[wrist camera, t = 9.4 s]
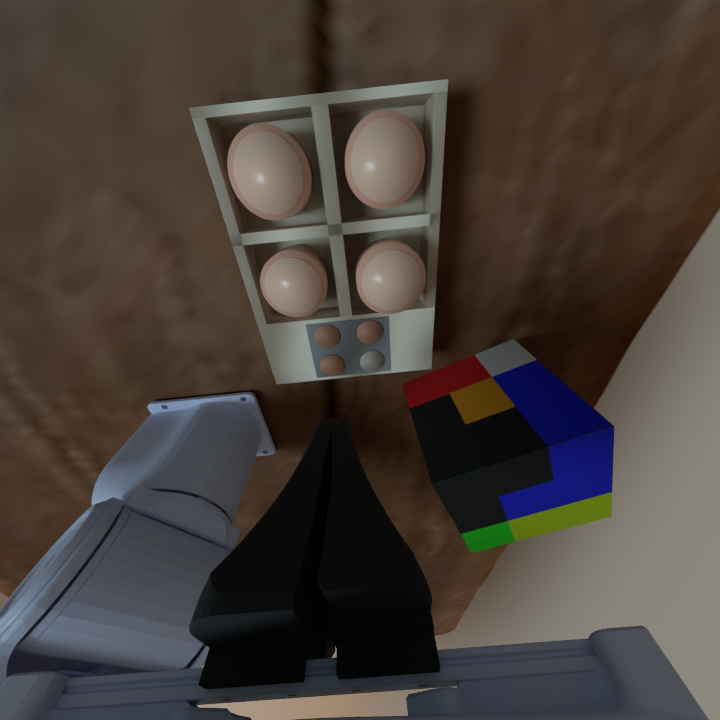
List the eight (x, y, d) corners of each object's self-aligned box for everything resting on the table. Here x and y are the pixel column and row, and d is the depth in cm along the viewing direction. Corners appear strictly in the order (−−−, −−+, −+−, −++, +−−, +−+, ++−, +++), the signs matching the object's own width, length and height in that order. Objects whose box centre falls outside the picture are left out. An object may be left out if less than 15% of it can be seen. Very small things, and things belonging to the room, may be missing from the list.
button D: (348, 210, 16) (349, 213, 14) (340, 124, 14) (339, 113, 12) (414, 203, 16) (424, 205, 14) (415, 116, 14) (427, 104, 12)
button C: (254, 220, 16) (241, 224, 14) (231, 136, 14) (213, 127, 12) (319, 214, 16) (316, 216, 14) (306, 128, 14) (300, 117, 12)
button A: (277, 308, 19) (269, 320, 17) (261, 248, 17) (251, 255, 15) (332, 302, 19) (331, 314, 17) (323, 242, 17) (320, 248, 15)
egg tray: (282, 367, 23) (275, 386, 21) (210, 119, 14) (186, 106, 12) (423, 353, 23) (431, 370, 21) (433, 95, 14) (449, 77, 12)
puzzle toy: (512, 338, 23) (613, 426, 14) (528, 416, 27) (611, 516, 19) (402, 383, 25) (432, 484, 16) (435, 449, 29) (472, 552, 21)
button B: (358, 304, 18) (360, 317, 16) (352, 241, 16) (353, 248, 14) (416, 298, 18) (425, 311, 16) (418, 234, 16) (427, 240, 14)
